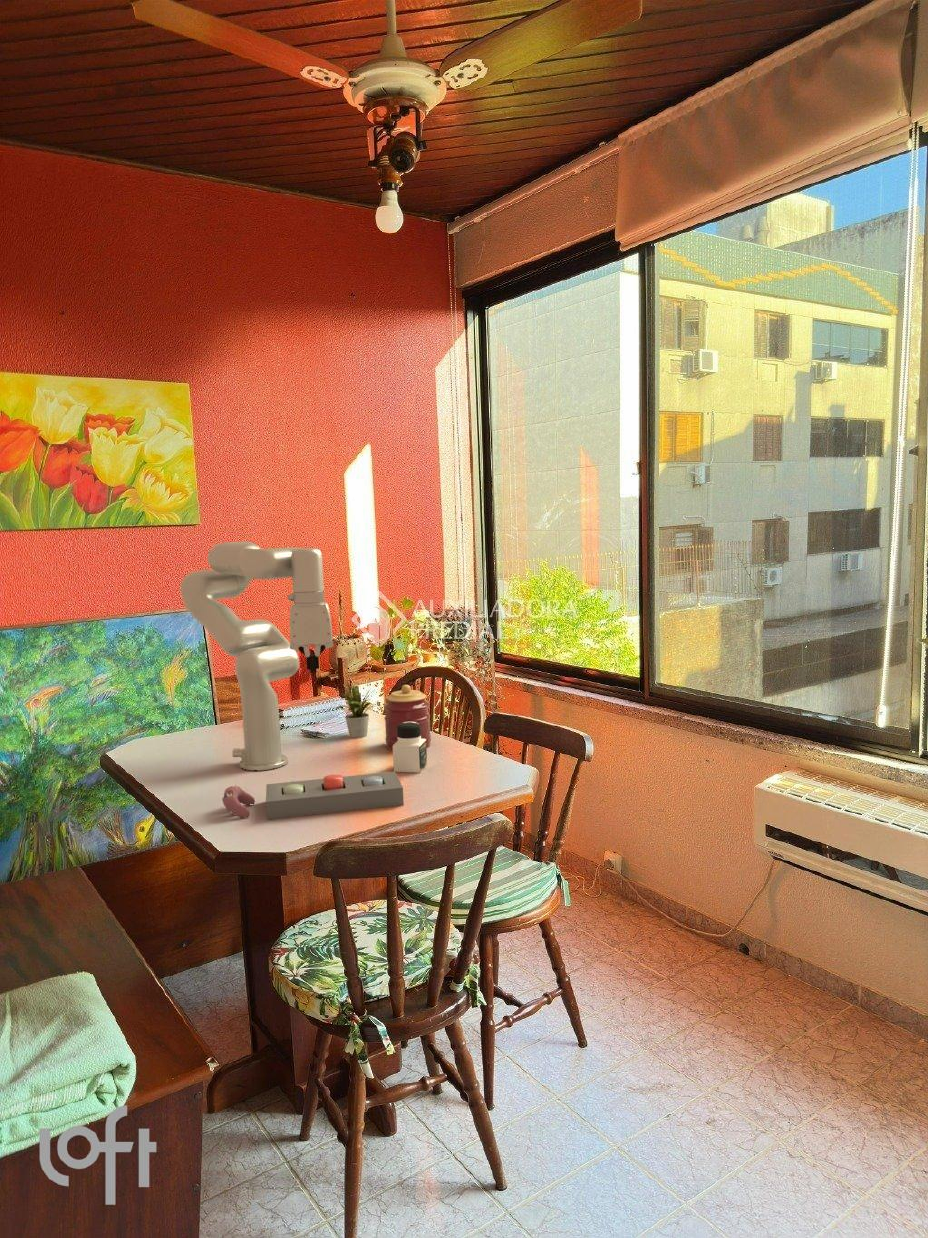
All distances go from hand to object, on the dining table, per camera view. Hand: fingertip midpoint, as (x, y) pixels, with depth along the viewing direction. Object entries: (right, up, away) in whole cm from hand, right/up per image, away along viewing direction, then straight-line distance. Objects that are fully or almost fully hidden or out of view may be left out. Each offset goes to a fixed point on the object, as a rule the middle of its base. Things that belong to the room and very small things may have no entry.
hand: (313, 671), depth 211 cm
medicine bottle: (+24, -26, +8) cm, 36 cm away
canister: (+22, -23, +31) cm, 44 cm away
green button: (-1, -28, -19) cm, 34 cm away
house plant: (+4, -22, +45) cm, 50 cm away
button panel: (+8, -29, -17) cm, 34 cm away
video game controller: (-13, -30, -20) cm, 39 cm away
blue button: (+17, -27, -15) cm, 35 cm away
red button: (+8, -26, -17) cm, 32 cm away
